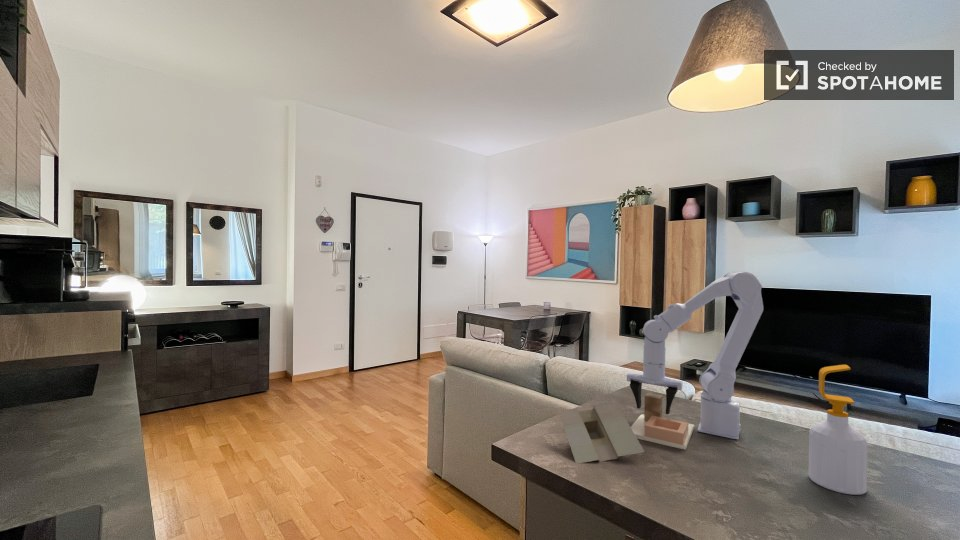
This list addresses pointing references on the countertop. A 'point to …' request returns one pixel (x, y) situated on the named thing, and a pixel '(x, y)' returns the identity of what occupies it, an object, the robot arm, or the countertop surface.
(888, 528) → the countertop surface
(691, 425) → the cream board
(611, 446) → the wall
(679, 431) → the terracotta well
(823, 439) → the soap bottle
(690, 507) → the countertop surface
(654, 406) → the walnut block
